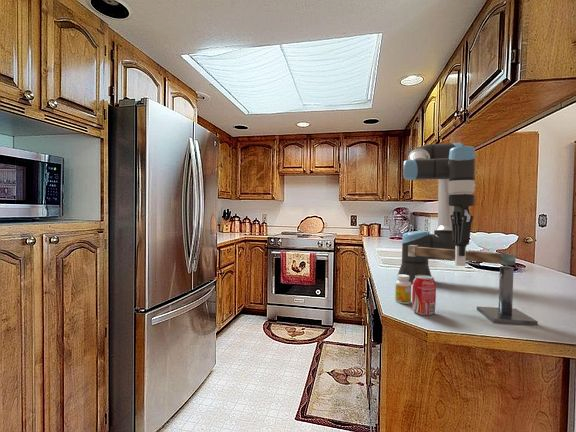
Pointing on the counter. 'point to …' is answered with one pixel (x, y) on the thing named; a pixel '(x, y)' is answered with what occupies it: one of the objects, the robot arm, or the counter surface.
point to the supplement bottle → (403, 289)
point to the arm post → (506, 303)
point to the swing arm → (470, 255)
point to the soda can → (424, 295)
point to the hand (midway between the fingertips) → (460, 265)
